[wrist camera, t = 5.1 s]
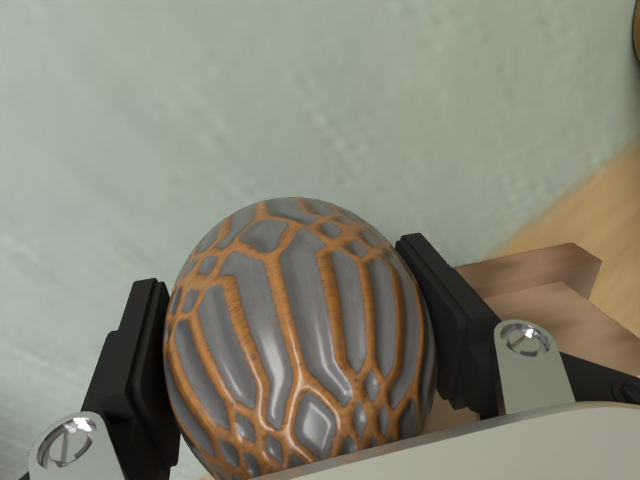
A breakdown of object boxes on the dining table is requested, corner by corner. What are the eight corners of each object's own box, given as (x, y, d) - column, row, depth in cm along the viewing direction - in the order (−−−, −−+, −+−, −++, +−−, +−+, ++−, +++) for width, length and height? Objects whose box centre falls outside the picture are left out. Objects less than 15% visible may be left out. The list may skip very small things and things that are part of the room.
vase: (330, 344, 16) (420, 620, 9) (157, 318, 14) (83, 674, 6) (407, 201, 14) (629, 430, 6) (209, 135, 11) (184, 390, 4)
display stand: (572, 242, 22) (773, 366, 14) (527, 390, 29) (647, 531, 21) (304, 298, 20) (368, 489, 12) (321, 448, 26) (369, 636, 18)
